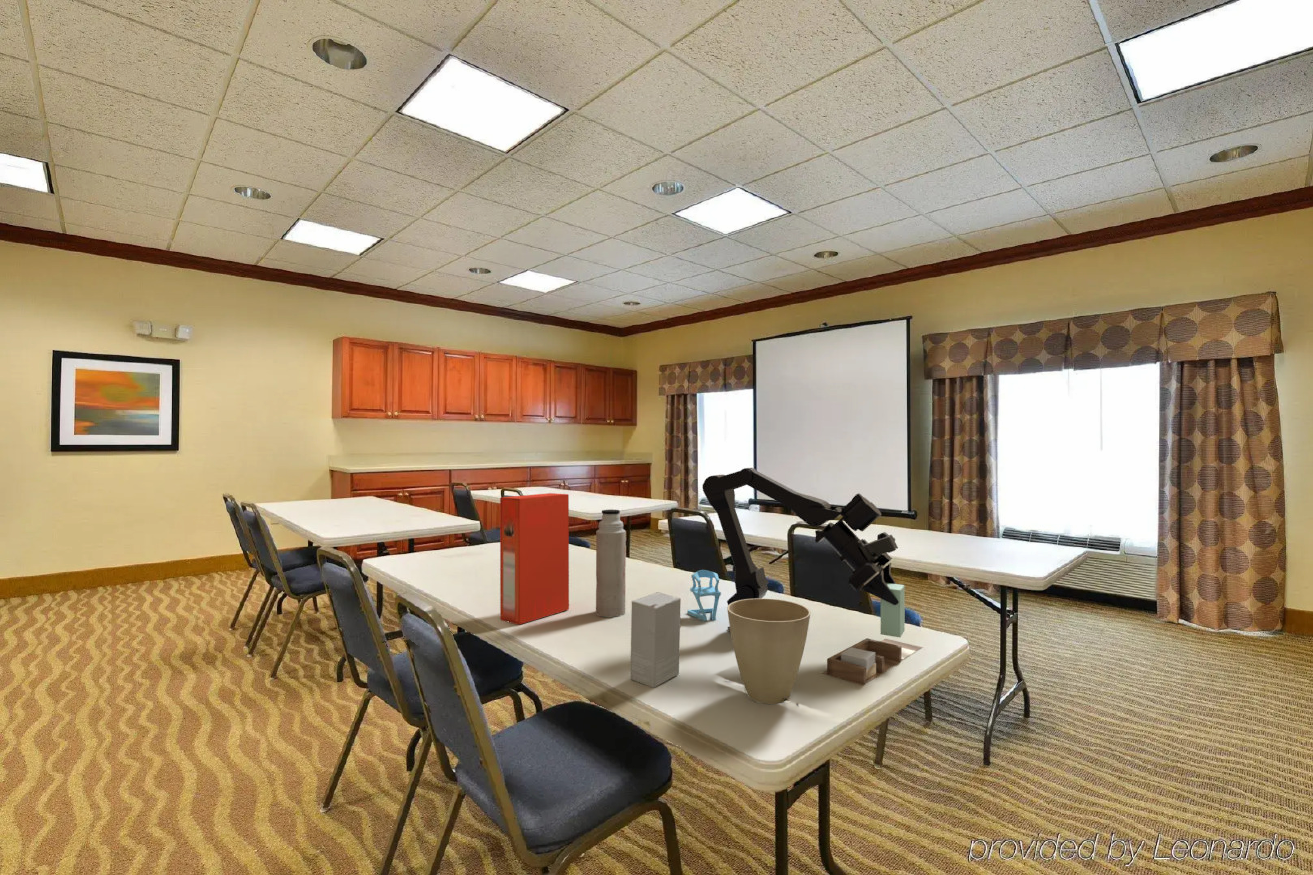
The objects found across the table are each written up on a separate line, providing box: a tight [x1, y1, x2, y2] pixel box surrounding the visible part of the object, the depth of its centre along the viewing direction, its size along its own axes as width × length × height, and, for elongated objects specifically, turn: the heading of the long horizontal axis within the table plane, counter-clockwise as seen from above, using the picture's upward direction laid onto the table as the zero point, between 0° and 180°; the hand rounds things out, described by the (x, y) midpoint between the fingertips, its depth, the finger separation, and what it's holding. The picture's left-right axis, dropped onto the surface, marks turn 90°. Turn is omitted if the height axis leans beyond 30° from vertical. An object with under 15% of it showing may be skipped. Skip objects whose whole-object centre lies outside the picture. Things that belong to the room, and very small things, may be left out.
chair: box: [687, 569, 722, 622], centre depth 161 cm, size 8×8×12 cm
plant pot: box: [726, 598, 811, 705], centre depth 110 cm, size 15×15×16 cm
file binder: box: [499, 492, 570, 625], centre depth 162 cm, size 8×17×32 cm, turn 143°
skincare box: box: [629, 591, 682, 688], centre depth 118 cm, size 8×7×16 cm
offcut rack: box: [821, 638, 924, 686], centre depth 126 cm, size 30×8×4 cm, turn 136°
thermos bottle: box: [595, 509, 627, 618], centre depth 164 cm, size 8×8×28 cm
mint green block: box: [880, 583, 906, 638], centre depth 131 cm, size 6×4×10 cm
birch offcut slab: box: [866, 663, 876, 680], centre depth 118 cm, size 5×5×2 cm
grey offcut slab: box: [841, 646, 875, 670], centre depth 118 cm, size 5×5×2 cm
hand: (899, 600), depth 130 cm, fingers closed on mint green block, 5 cm apart
